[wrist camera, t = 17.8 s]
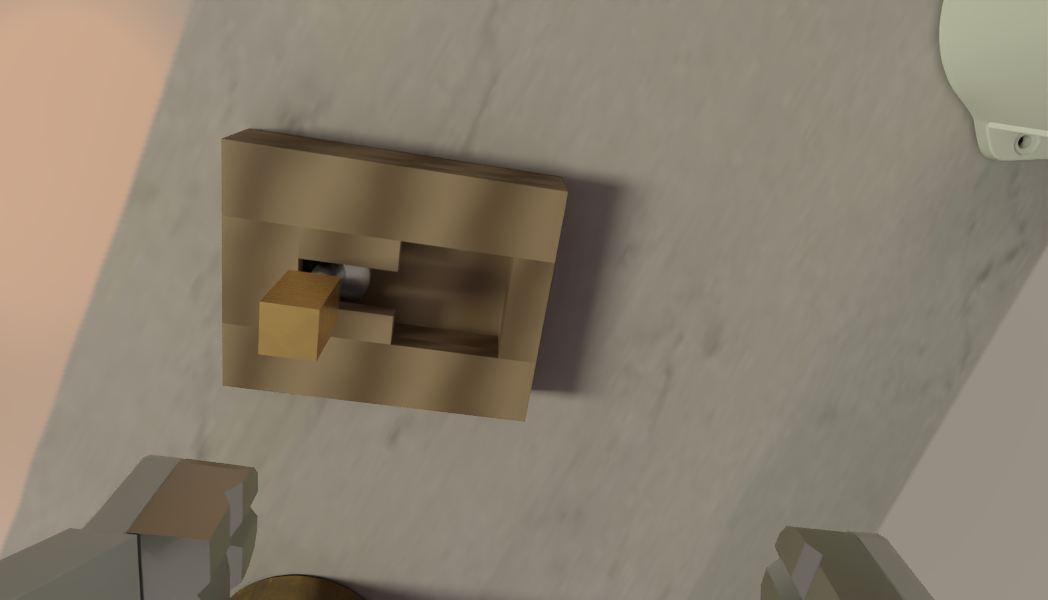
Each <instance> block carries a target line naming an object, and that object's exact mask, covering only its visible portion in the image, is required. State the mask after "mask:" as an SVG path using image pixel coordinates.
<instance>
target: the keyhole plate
mask: <svg viewBox="0 0 1048 600" xmlns="http://www.w3.org/2000/svg"><path fill="white" fill-rule="evenodd" d="M567 196H568V190H567V188H566V186H565V184H564V182H563V179H562V177H557V176H551V175H544V174H538V173H532V172H525V171H519V170H512V169H506V168H499V167H493V166H486V165H480V164H474V163H467V162H461V161H454V160H448V159H441V158H435V157H428V156H422V155H416V154H409V153H403V152H396V151H390V150H383V149H377V148H370V147H364V146H358V145H351V144H345V143H338V142H332V141H325V140H319V139H313V138H306V137H300V136H293V135H287V134H280V133H274V132H267V131H261V130H255V129H246V130H244V131H241V132H238V133H236V134H233V135H230V136H228V137H225V138H223V139H222V350H223V386H230V387H239V388H247V389H255V390H264V391H272V392H281V393H289V394H297V395H306V396H314V397H323V398H331V399H339V400H348V401H356V402H365V403H373V404H381V405H390V406H398V407H407V408H415V409H423V410H432V411H440V412H448V413H457V414H465V415H474V416H482V417H490V418H499V419H507V420H516V421H524V422H525V419H526V413H527V408H528V403H529V397H530V392H531V387H532V381H533V376H534V371H535V366H536V360H537V355H538V350H539V344H540V339H541V334H542V328H543V323H544V318H545V313H546V307H547V302H548V297H549V291H550V286H551V281H552V275H553V270H554V265H555V259H556V254H557V249H558V244H559V238H560V233H561V228H562V222H563V217H564V212H565V206H566V201H567ZM303 259H308V260H315V261H322V262H329V263H336V264H344V265H351V266H358V267H365V268H373V274H372V279H371V282H370V284H369V286H368V288H367V290H366V292H365V293H364V295H363V296H362V297H361V298H360V299H359V300H358V301H357V302H356V303H347V302H340V301H339V312H338V324H337V326H336V328H335V330H334V331H333V333H332V335H331V337H330V338H329V340H328V342H327V344H326V346H325V347H324V349H323V351H322V353H321V354H320V356H319V358H318V360H317V361H316V362H314V361H307V360H299V359H291V358H284V357H276V356H268V355H261V354H258V344H259V307H260V301H261V299H262V298H263V297H264V296H265V295H266V294H267V293H268V292H269V291H270V290H271V288H272V287H273V286H274V285H275V284H276V283H277V282H278V281H279V280H280V279H281V277H282V276H283V275H284V274H285V273H286V272H287V271H288V270H294V271H301V272H303Z"/></svg>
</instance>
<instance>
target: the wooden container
mask: <svg viewBox="0 0 1048 600" xmlns="http://www.w3.org/2000/svg"><path fill="white" fill-rule="evenodd" d="M230 600H364V599H363V598H361V597H360V596H359V595H357V594H356V593H354V592H353V591H351V590H349V589H347V588H345V587H344V586H341V585H339V584H336V583H334V582H330V581H328V580H324V579H320V578H314V577H308V576H281V577H273V578H269V579H265V580H262V581H259V582H256V583H254V584H251V585H249V586H246V587H245V588H243V589H241V590H240V591H238V592H237V593H236V594H234V595H233V596H232V597H231V598H230Z"/></svg>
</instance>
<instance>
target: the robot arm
mask: <svg viewBox="0 0 1048 600" xmlns="http://www.w3.org/2000/svg"><path fill="white" fill-rule="evenodd" d="M939 43H940V53H941V59H942V63H943V67H944V70H945V73H946V76H947V78H948V81H949V83H950V85H951V86H952V88H953V90H954V91H955V93H956V95H957V96H958V97H959V98H960V100H961V101H962V102H963V104H964V105H965V106H966V107H967V109H968V110H969V112H970V113H971V115H972V117H973V119H974V126H975V132H976V137H977V142H978V145H979V148H980V151H981V153H982V154H983V155H984V156H985V157H986V158H988V159H991V160H1000V161H1016V160H1040V159H1048V0H944V1H943V6H942V11H941V17H940V28H939ZM1022 136H1023V141H1022V143H1021V144H1020V145H1019V146H1018V141H1019V139H1020V138H1021V137H1022ZM257 492H258V473H257V471H256V470H255V468H254V467H246V466H238V465H231V464H223V463H216V462H208V461H200V460H193V459H182V458H175V457H166V456H158V455H148V456H146V457H144V458H142V459H141V460H140V461H139V462H138V463H137V464H136V465H135V467H134V468H133V469H132V470H131V471H130V472H129V474H128V475H127V476H126V477H125V478H124V480H123V481H122V482H121V483H120V484H119V485H118V487H117V488H116V489H115V490H114V491H113V493H112V494H111V495H110V496H109V497H108V498H107V500H106V501H105V502H104V503H103V504H102V506H101V507H100V508H99V509H98V510H97V511H96V513H95V514H94V515H93V516H92V517H91V518H90V520H89V521H88V522H87V523H86V524H85V526H84V527H83V528H82V529H72V528H69V529H67V530H65V531H63V532H61V533H59V534H56V535H54V536H52V537H50V538H48V539H46V540H43V541H41V542H39V543H37V544H35V545H33V546H30V547H28V548H26V549H24V550H22V551H20V552H17V553H15V554H13V555H11V556H9V557H6V558H4V559H2V560H0V600H230V590H231V589H233V588H234V587H236V586H237V585H239V584H240V583H242V580H243V578H244V576H245V573H246V571H247V569H248V567H249V563H250V560H251V556H252V553H253V550H254V546H255V539H256V532H257V515H256V514H255V513H254V511H253V510H252V509H251V507H250V506H251V504H252V502H253V500H254V498H255V496H256V494H257ZM775 548H776V550H777V552H778V555H779V557H780V558H779V559H778V560H776V561H775V562H774V563H772V564H771V565H770V566H769V567H767V568H766V571H765V574H764V577H763V580H762V583H761V600H934V599H933V597H932V596H931V595H930V593H929V592H928V591H927V590H926V588H925V587H924V586H923V584H922V583H921V582H920V581H919V579H918V578H917V577H916V576H915V575H914V573H913V572H912V570H911V569H910V568H909V567H908V565H907V564H906V563H905V562H904V560H903V559H902V558H901V557H900V555H899V554H898V553H897V551H896V550H895V549H894V548H893V546H892V545H891V544H890V543H889V541H888V540H887V539H886V538H884V537H882V536H881V535H879V534H875V533H863V532H850V531H847V532H839V531H830V530H820V529H810V528H801V527H791V526H786V527H785V528H784V529H783V530H782V531H781V532H780V534H779V537H778V539H777V542H776V544H775Z"/></svg>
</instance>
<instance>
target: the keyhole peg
mask: <svg viewBox="0 0 1048 600" xmlns="http://www.w3.org/2000/svg"><path fill="white" fill-rule="evenodd" d="M372 274H373V268H365V267H358V266H351V265H344V264H336V263H329V262H322V261H315V260H308V259H303V272H301V271H294V270H288V271H287V272H286V273H285V274H284V275H283V276H282V277H281V279H280V280H279V281H278V282H277V283H276V284H275V285H274V286H273V287H272V288H271V290H270V291H269V292H268V293H267V294H266V295H265V296H264V297H263V298H262V299H261V301H260V307H259V344H258V354H261V355H268V356H276V357H284V358H291V359H299V360H307V361H314V362H316V361H317V360H318V358H319V356H320V354H321V353H322V351H323V349H324V347H325V346H326V344H327V342H328V340H329V338H330V337H331V335H332V333H333V331H334V330H335V328H336V326H337V324H338V312H339V301H340V302H347V303H356V302H357V301H358V300H359V299H360V298H361V297H362V296H363V295H364V293H365V292H366V290H367V288H368V286H369V284H370V282H371V279H372Z"/></svg>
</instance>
